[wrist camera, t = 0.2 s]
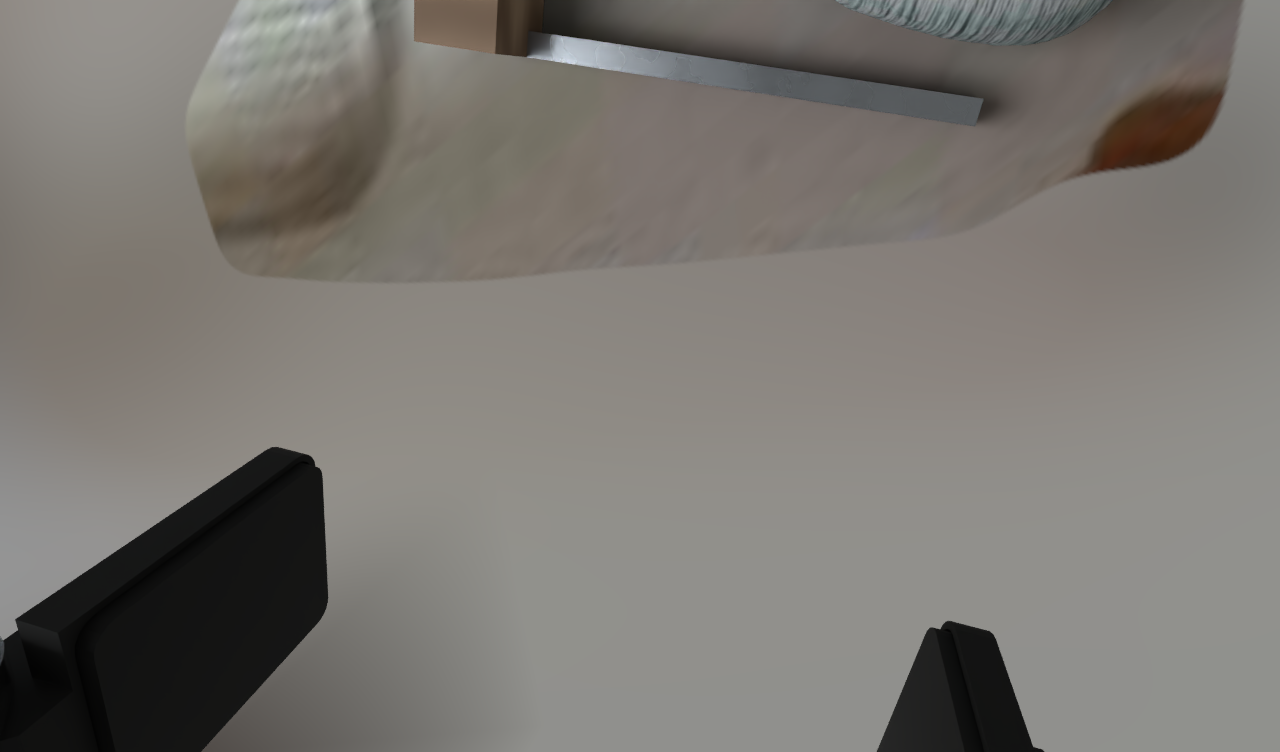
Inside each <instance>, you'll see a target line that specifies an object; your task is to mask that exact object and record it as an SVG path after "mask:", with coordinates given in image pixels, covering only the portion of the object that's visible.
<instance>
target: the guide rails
mask: <svg viewBox="0 0 1280 752" xmlns="http://www.w3.org/2000/svg"><path fill="white" fill-rule="evenodd" d="M527 57H530V58H537V59H543V60H550V61H556V62H562V63H569V64H575V65H582V66H588V67H595V68H601V69H608V70H614V71H621V72H627V73H634V74H640V75H646V76H653V77H659V78H666V79H672V80H679V81H685V82H692V83H698V84H705V85H711V86H717V87H724V88H730V89H737V90H743V91H750V92H756V93H763V94H769V95H776V96H782V97H789V98H795V99H801V100H808V101H814V102H821V103H827V104H834V105H840V106H847V107H853V108H860V109H866V110H873V111H879V112H885V113H892V114H898V115H905V116H911V117H918V118H924V119H931V120H937V121H944V122H950V123H957V124H963V125H969V126H975V125H976V122H977V119H978V115H979V112H980V109H981V106H982V103H983V100H984V99H982V98H975V97H968V96H962V95H955V94H948V93H942V92H935V91H928V90H921V89H915V88H908V87H901V86H895V85H888V84H881V83H874V82H868V81H861V80H854V79H848V78H841V77H834V76H828V75H821V74H814V73H807V72H801V71H794V70H787V69H781V68H774V67H767V66H761V65H754V64H747V63H740V62H734V61H727V60H720V59H714V58H707V57H700V56H693V55H687V54H680V53H673V52H667V51H660V50H653V49H647V48H640V47H633V46H626V45H620V44H613V43H606V42H600V41H593V40H586V39H580V38H573V37H566V36H559V35H553V34H546V33H539V32H533V31H528V43H527Z"/></svg>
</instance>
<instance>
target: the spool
mask: <svg viewBox="0 0 1280 752" xmlns="http://www.w3.org/2000/svg"><path fill="white" fill-rule="evenodd" d="M835 1H837V2H839V3H840V4H842V5H844V6H845V7H847V8H849V9H851V10H854V11H857V12H859V13H862V14H865V15H868V16H871V17H874V18H877V19H880V20H883V21H886V22H889V23H892V24H895V25H898V26H901V27H904V28H907V29H911V30H915V31H919V32H922V33H926V34H930V35H934V36H938V37H942V38H948V39H954V40H959V41H966V42H974V43H985V44H990V45H1029V44H1035V43H1040V42H1045V41H1049V40H1052V39H1054V38H1057V37H1059V36H1063V35H1066V34H1069V33H1070V32H1072V31H1073V30H1075V29H1077V28H1078V27H1080V26H1081V25H1083V24H1084V23H1086V22H1087V21H1089V20H1090V19H1091V18H1092V17H1094V16H1095V15H1096V14H1097V13H1099V12H1100V11H1101V10H1103V9H1104V8H1105V7H1107V6H1108V5H1109V4H1110V3H1111V2H1112V1H1113V0H835Z"/></svg>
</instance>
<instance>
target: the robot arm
mask: <svg viewBox="0 0 1280 752" xmlns="http://www.w3.org/2000/svg"><path fill="white" fill-rule="evenodd" d="M327 603H328V585H327V564H326V542H325V522H324V499H323V478H322V472H321V470H320V468H318V467H315V462H314V460H313V458H312V457H311V456H309V455H306V454H303V453H298V452H295V451H291V450H287V449H283V448H279V447H272V448H270V449H267V450H266V451H264V452H263V453H261V454H260V455H258V456H257V457H255V458H254V459H252V460H251V461H249V462H248V463H246V464H245V465H243V466H242V467H240V468H239V469H237V470H236V471H234V472H233V473H231V474H230V475H229V476H227V477H226V478H224V479H223V480H221V481H220V482H218V483H217V484H215V485H214V486H212V487H211V488H209V489H208V490H206V491H205V492H203V493H202V494H200V495H199V496H197V497H196V498H194V499H193V500H191V501H190V502H189V503H187V504H186V505H184V506H183V507H181V508H180V509H178V510H177V511H175V512H174V513H172V514H171V515H169V516H168V517H166V518H165V519H163V520H162V521H160V522H159V523H157V524H156V525H154V526H153V527H152V528H150V529H149V530H147V531H146V532H144V533H143V534H141V535H140V536H138V537H137V538H135V539H134V540H132V541H131V542H129V543H128V544H126V545H125V546H123V547H122V548H120V549H119V550H117V551H116V552H114V553H113V554H111V555H110V556H109V557H107V558H106V559H104V560H103V561H101V562H100V563H98V564H97V565H96V566H94V567H92V568H91V569H89V570H88V571H86V572H85V573H83V574H82V575H80V576H79V577H77V578H76V579H74V580H73V581H72V582H70V583H68V584H67V585H66V586H64V587H63V588H61V589H60V590H58V591H57V592H56V593H54V594H52V595H51V596H49V597H48V598H46V599H45V600H43V601H42V602H40V603H39V604H37V605H36V606H34V607H33V608H31V609H30V610H29V611H27V612H26V613H24V614H23V615H21V616H20V617H18V618H17V619H15V620H16V624H17V627H18V631H16V632H15V633H13V634H12V635H10V636H9V637H8V638H6V639H5V640H2V638H1V637H0V752H201V751H202V750H203V749H204V748H205V747H206V746H207V744H208V743H209V742H210V741H211V740H212V739H213V738H214V737H215V736H216V734H217V733H218V732H219V731H220V730H221V729H222V728H223V727H224V726H225V725H226V723H227V722H228V721H229V720H230V719H231V718H232V717H233V716H234V715H235V714H236V712H237V711H238V710H239V709H240V708H241V707H242V706H243V705H244V704H245V702H246V701H247V700H248V699H249V698H250V697H251V696H252V695H253V694H254V693H255V692H256V690H257V689H258V688H259V687H260V686H261V685H262V684H263V683H264V681H265V680H266V679H267V678H268V677H269V676H270V675H271V674H272V673H273V672H274V671H275V669H276V668H277V667H278V666H279V665H280V664H281V663H282V662H283V661H284V660H285V659H286V657H287V656H288V655H289V654H290V653H291V652H292V651H293V650H294V649H295V648H296V646H297V645H298V644H299V643H300V642H301V641H302V640H303V639H304V638H305V636H306V635H307V634H308V633H309V632H310V631H311V630H312V629H313V628H314V627H315V625H316V624H317V623H318V622H319V621H320V619H321V618H322V616H323V614H324V612H325V610H326V606H327ZM877 752H1044V751H1043V750H1042V749H1038V748H1035V747H1033V745H1032V743H1031V739H1030V737H1029V734H1028V731H1027V728H1026V725H1025V722H1024V719H1023V716H1022V714H1021V711H1020V708H1019V705H1018V702H1017V699H1016V697H1015V693H1014V690H1013V687H1012V685H1011V682H1010V679H1009V676H1008V673H1007V670H1006V667H1005V664H1004V661H1003V658H1002V656H1001V653H1000V650H999V647H998V644H997V641H996V639H995V637H994V635H993V634H992V633H991V632H990V631H987V630H983V629H979V628H975V627H971V626H967V625H963V624H959V623H956V622H952V621H947V622H945V623H944V624H943V625H942V627H941V629H936V628H929V629H928V631H927V632H926V634H925V637H924V639H923V642H922V644H921V646H920V649H919V651H918V654H917V656H916V659H915V661H914V663H913V666H912V668H911V671H910V673H909V675H908V678H907V680H906V682H905V685H904V687H903V690H902V692H901V695H900V697H899V699H898V702H897V704H896V707H895V709H894V711H893V714H892V716H891V719H890V721H889V724H888V726H887V728H886V731H885V733H884V736H883V738H882V740H881V743H880V745H879V748H878V750H877Z"/></svg>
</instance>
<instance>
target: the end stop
mask: <svg viewBox="0 0 1280 752" xmlns="http://www.w3.org/2000/svg"><path fill="white" fill-rule="evenodd" d="M543 11H544V0H414V41H416V42H423V43H429V44H436V45H442V46H448V47H455V48H461V49H468V50H474V51H481V52H487V53H494V54H503V55H512V56H522V57H527V43H528V31H533V32H539V33H542V25H543Z"/></svg>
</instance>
